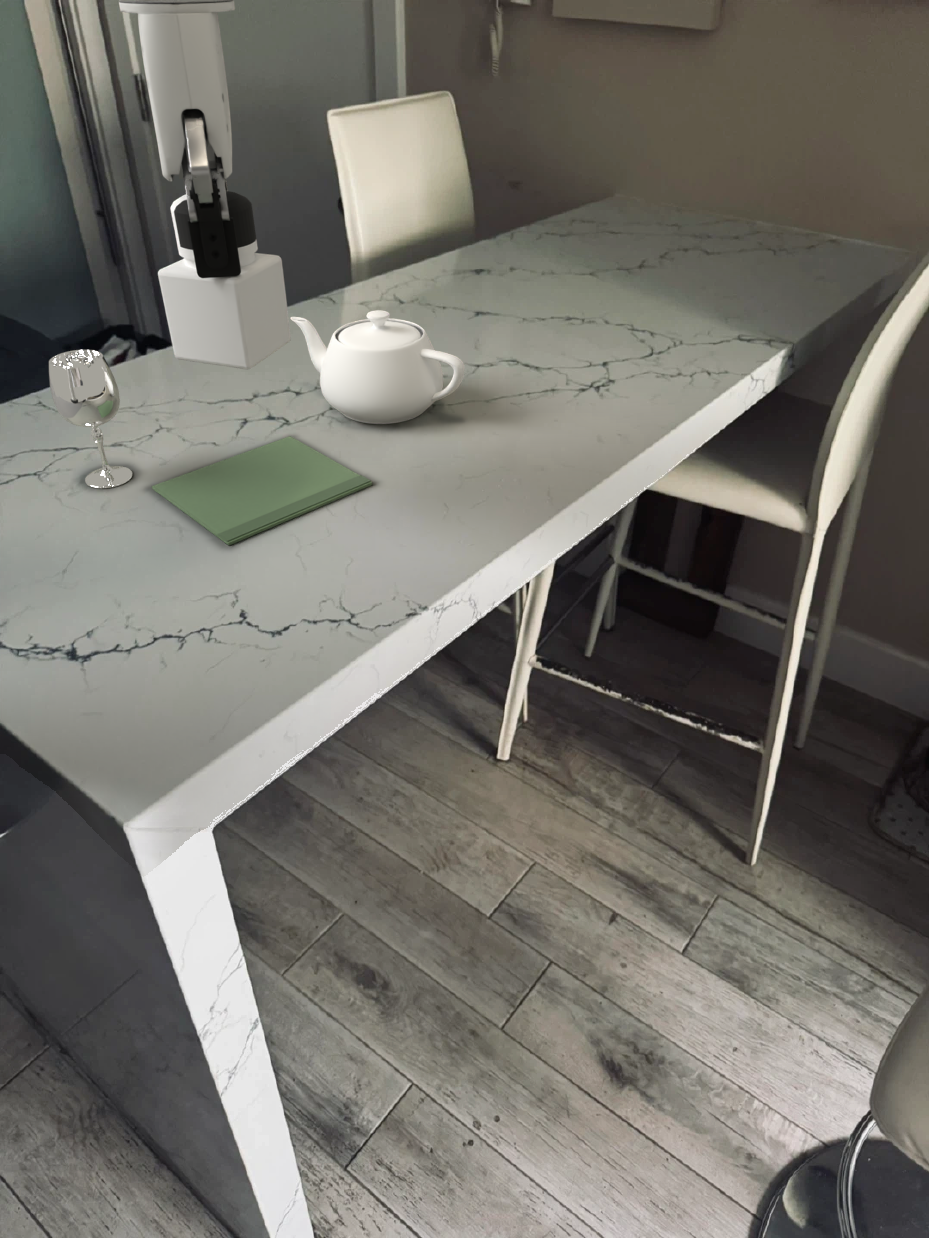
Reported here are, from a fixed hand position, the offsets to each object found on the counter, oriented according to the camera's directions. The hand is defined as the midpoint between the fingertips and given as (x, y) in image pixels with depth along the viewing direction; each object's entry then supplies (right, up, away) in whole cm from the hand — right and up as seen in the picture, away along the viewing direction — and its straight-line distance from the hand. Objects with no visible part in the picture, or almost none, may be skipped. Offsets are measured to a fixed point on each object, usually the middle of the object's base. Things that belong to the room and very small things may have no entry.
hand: (219, 259), depth 69 cm
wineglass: (-16, -15, +18) cm, 28 cm away
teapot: (+9, -4, +31) cm, 33 cm away
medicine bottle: (0, -6, +5) cm, 8 cm away
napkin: (0, -16, +16) cm, 22 cm away
